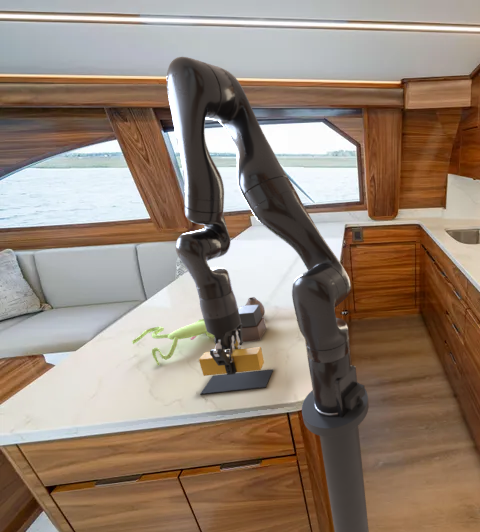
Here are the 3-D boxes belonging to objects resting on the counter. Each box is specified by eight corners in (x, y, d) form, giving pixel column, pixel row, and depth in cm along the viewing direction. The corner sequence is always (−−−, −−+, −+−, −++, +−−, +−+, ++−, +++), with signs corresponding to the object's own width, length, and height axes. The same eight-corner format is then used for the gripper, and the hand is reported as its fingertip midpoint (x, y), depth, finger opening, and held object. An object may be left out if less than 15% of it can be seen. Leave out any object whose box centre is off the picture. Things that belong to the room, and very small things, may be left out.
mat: (273, 370, 84) (273, 369, 84) (265, 387, 77) (265, 386, 77) (213, 376, 82) (212, 375, 82) (200, 395, 75) (200, 393, 75)
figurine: (133, 348, 96) (128, 333, 95) (222, 316, 115) (219, 303, 113) (145, 372, 85) (139, 355, 83) (242, 332, 103) (238, 318, 102)
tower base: (266, 329, 105) (263, 316, 104) (260, 340, 99) (257, 326, 97) (245, 331, 105) (242, 318, 103) (238, 342, 98) (234, 328, 96)
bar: (264, 362, 81) (260, 346, 79) (260, 370, 78) (257, 354, 76) (209, 367, 79) (204, 352, 77) (203, 376, 76) (198, 359, 74)
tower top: (261, 317, 103) (259, 304, 102) (256, 326, 98) (253, 312, 96) (243, 319, 103) (240, 306, 101) (237, 327, 97) (233, 314, 95)
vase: (241, 322, 110) (236, 301, 108) (255, 314, 117) (251, 293, 114) (256, 325, 108) (252, 303, 105) (269, 316, 114) (265, 295, 112)
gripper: (224, 323, 66) (239, 385, 72) (246, 297, 80) (258, 351, 85) (188, 326, 66) (207, 389, 71) (217, 299, 79) (230, 354, 84)
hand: (234, 368), depth 78 cm, fingers closed on bar, 3 cm apart
